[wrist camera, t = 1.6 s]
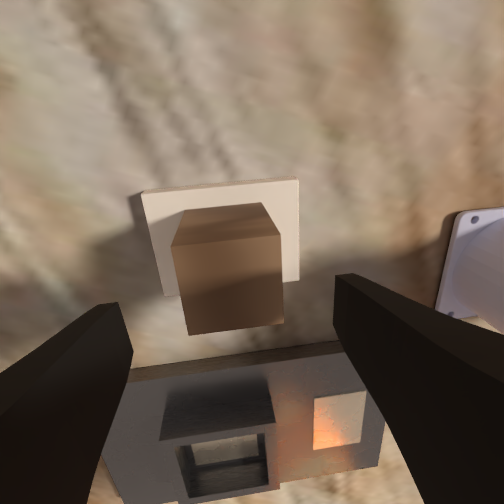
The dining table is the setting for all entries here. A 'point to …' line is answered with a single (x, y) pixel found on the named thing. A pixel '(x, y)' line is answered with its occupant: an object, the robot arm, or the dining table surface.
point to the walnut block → (228, 268)
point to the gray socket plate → (240, 425)
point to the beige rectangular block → (223, 194)
